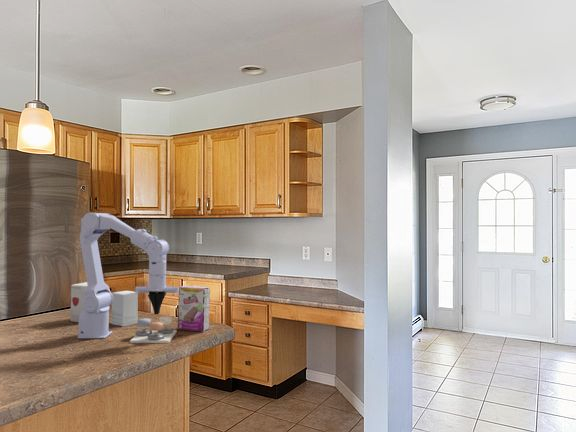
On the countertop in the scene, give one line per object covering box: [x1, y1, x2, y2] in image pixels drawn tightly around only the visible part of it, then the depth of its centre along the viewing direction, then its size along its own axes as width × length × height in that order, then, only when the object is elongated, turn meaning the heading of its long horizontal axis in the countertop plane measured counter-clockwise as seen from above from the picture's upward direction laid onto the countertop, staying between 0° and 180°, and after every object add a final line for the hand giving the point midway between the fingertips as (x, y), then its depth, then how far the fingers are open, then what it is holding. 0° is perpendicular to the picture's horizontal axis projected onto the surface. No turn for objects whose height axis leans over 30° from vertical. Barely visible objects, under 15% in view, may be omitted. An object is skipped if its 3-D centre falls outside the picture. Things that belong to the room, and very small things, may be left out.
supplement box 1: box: [69, 281, 88, 323], centre depth 176 cm, size 9×9×15 cm
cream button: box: [158, 316, 173, 326], centre depth 157 cm, size 5×5×2 cm
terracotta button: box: [148, 321, 164, 331], centre depth 148 cm, size 5×5×2 cm
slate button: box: [136, 317, 152, 328], centre depth 153 cm, size 5×5×2 cm
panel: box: [129, 326, 178, 344], centre depth 152 cm, size 13×14×3 cm
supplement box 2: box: [110, 290, 139, 327], centre depth 171 cm, size 7×7×13 cm
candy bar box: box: [177, 284, 211, 332], centre depth 164 cm, size 11×5×16 cm, turn 74°
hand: (156, 313), depth 149 cm, fingers closed
